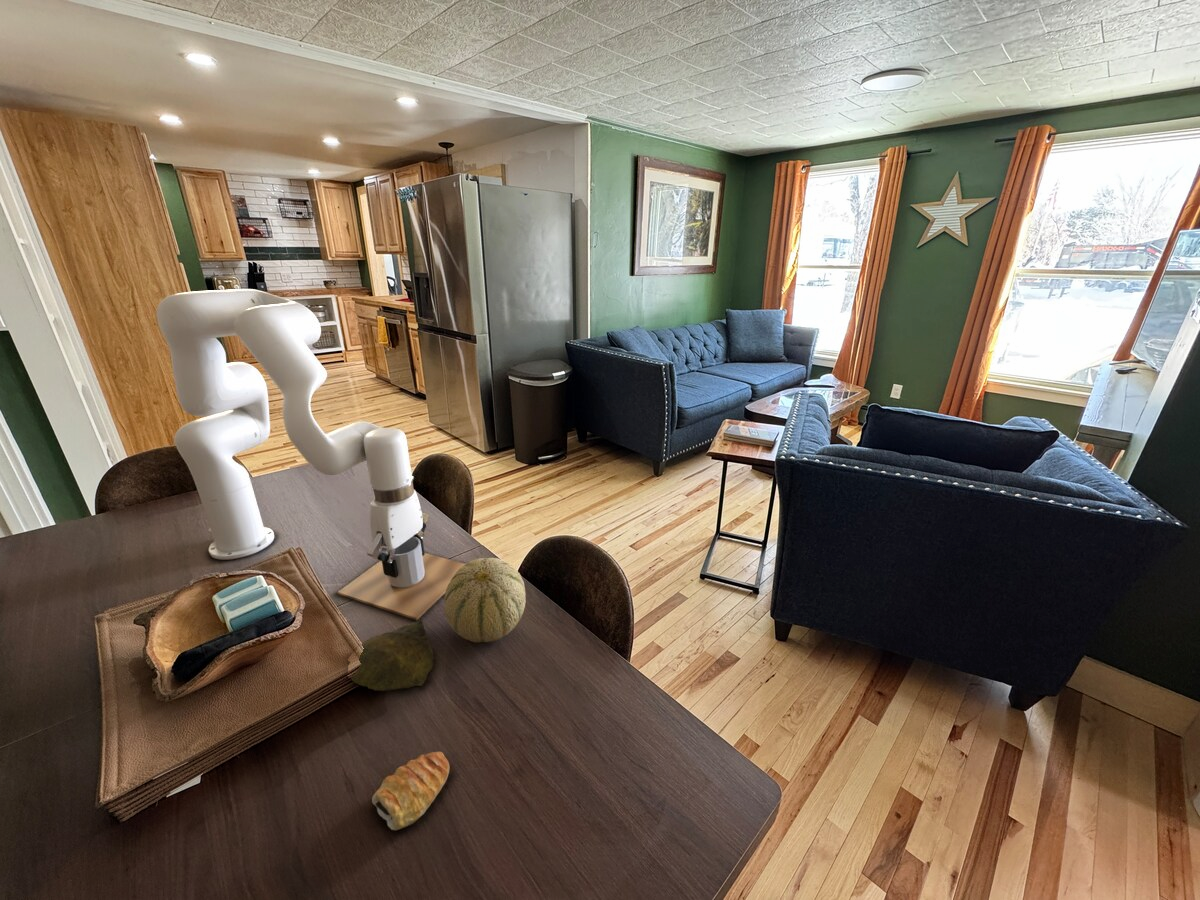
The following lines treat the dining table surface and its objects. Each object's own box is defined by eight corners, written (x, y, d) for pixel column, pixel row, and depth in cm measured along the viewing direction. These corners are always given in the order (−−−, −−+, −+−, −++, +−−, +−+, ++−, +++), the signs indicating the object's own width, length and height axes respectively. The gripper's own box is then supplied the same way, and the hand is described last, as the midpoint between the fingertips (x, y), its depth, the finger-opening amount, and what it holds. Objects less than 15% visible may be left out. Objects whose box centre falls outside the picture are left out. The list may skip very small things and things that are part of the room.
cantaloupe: (499, 593, 98) (495, 531, 93) (543, 631, 89) (541, 565, 83) (432, 628, 89) (423, 562, 83) (473, 675, 79) (466, 603, 74)
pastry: (430, 749, 67) (427, 730, 66) (462, 778, 64) (460, 759, 62) (368, 807, 60) (363, 787, 59) (400, 843, 56) (396, 823, 55)
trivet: (337, 594, 97) (337, 592, 97) (400, 548, 113) (400, 546, 112) (416, 620, 91) (416, 618, 90) (471, 567, 106) (471, 565, 106)
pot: (381, 582, 99) (375, 550, 96) (405, 563, 106) (400, 532, 102) (408, 591, 97) (403, 558, 94) (431, 571, 103) (427, 540, 100)
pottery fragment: (348, 713, 72) (343, 693, 71) (347, 648, 84) (343, 630, 82) (439, 682, 78) (436, 663, 76) (426, 625, 89) (424, 608, 88)
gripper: (408, 470, 102) (418, 539, 109) (342, 506, 87) (358, 584, 94) (437, 476, 100) (445, 546, 106) (374, 514, 85) (389, 594, 91)
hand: (405, 564), depth 100 cm, fingers closed on pot, 7 cm apart
